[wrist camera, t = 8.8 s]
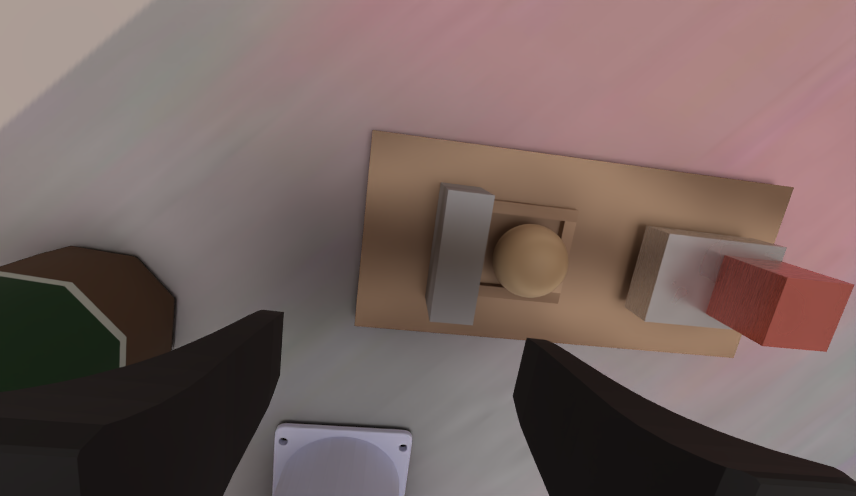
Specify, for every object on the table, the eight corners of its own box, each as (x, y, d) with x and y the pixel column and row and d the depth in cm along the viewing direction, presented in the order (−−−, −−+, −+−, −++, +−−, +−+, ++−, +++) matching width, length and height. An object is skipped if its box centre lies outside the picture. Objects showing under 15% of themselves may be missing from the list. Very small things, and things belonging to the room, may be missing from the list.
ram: (728, 316, 22) (820, 366, 17) (624, 306, 21) (690, 355, 17) (754, 238, 21) (861, 268, 16) (646, 225, 20) (724, 252, 16)
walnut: (543, 285, 22) (572, 312, 18) (480, 279, 21) (497, 306, 18) (557, 221, 21) (590, 237, 17) (491, 214, 20) (512, 229, 17)
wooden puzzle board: (717, 347, 25) (780, 388, 21) (356, 316, 23) (348, 354, 19) (773, 185, 22) (856, 195, 18) (374, 130, 20) (368, 128, 16)
